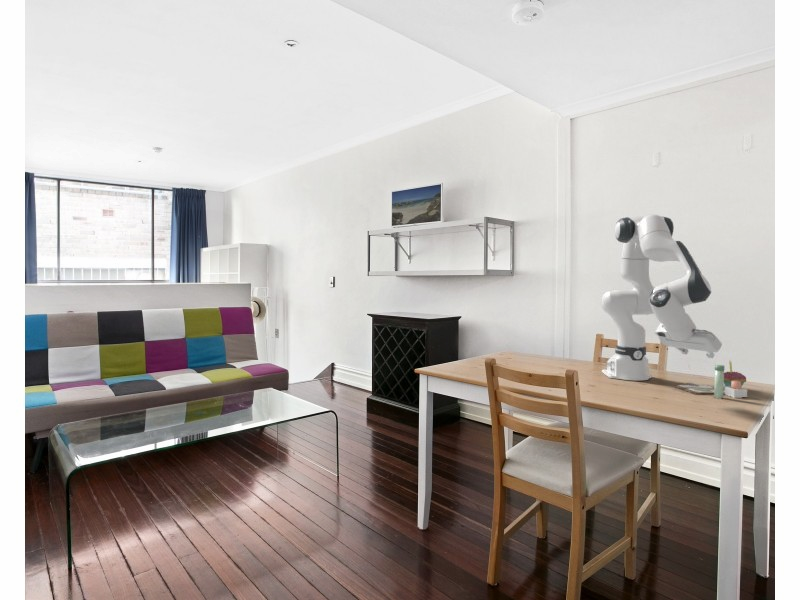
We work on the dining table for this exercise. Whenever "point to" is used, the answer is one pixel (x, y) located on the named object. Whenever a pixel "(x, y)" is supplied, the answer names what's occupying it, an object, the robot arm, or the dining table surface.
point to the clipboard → (697, 388)
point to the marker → (719, 381)
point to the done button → (735, 384)
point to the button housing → (735, 392)
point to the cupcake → (733, 377)
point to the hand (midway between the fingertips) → (698, 354)
